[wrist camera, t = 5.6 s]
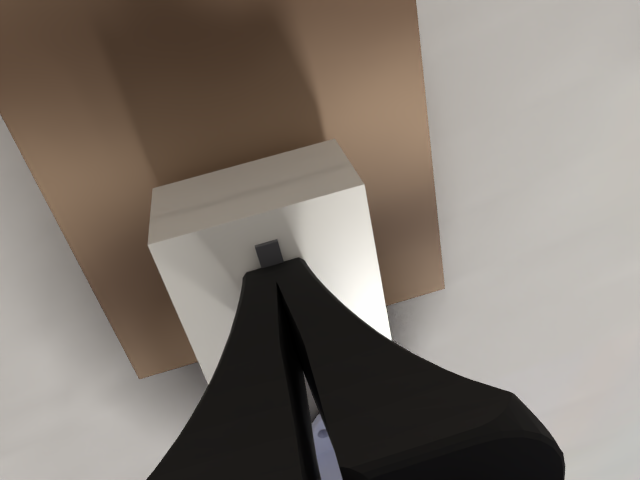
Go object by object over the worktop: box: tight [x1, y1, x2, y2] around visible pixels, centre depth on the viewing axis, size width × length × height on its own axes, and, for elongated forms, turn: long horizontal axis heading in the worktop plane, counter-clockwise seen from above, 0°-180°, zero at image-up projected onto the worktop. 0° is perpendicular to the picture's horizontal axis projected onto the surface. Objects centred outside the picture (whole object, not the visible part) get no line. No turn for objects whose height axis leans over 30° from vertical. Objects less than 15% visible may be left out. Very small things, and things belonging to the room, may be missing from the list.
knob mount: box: [0, 0, 445, 379], centre depth 13 cm, size 18×10×4 cm, turn 12°
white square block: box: [148, 139, 392, 385], centre depth 14 cm, size 5×5×3 cm
